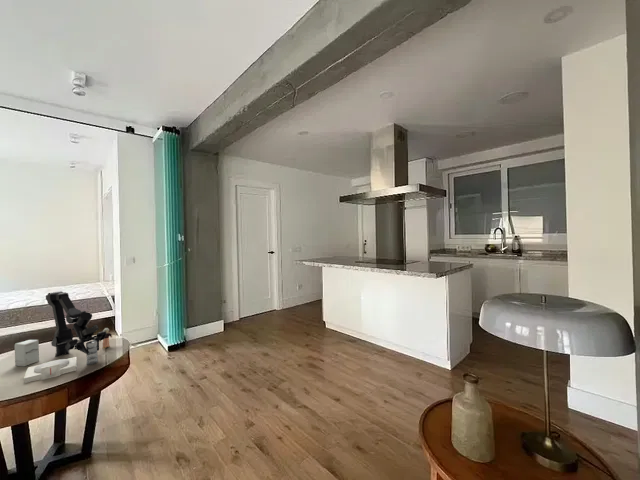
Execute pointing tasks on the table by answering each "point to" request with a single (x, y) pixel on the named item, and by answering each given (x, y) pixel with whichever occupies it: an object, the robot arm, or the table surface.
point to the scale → (50, 369)
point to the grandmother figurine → (106, 339)
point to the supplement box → (26, 352)
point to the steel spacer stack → (92, 352)
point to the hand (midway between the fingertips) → (93, 352)
